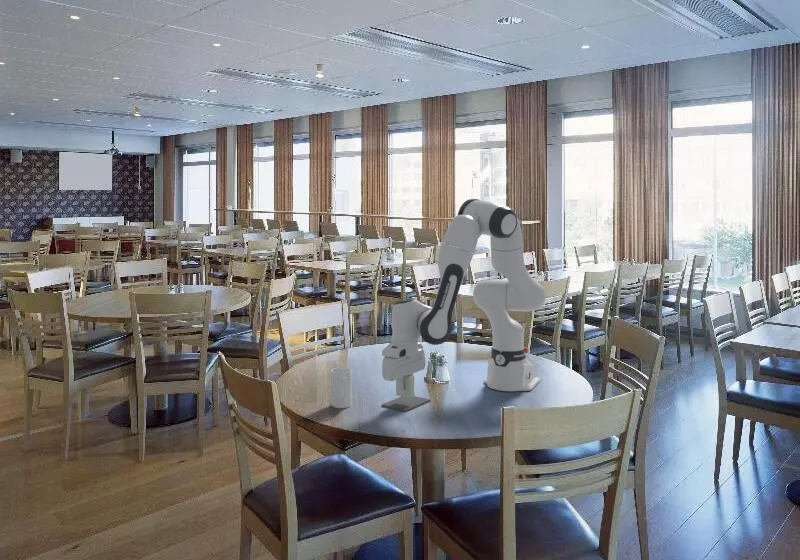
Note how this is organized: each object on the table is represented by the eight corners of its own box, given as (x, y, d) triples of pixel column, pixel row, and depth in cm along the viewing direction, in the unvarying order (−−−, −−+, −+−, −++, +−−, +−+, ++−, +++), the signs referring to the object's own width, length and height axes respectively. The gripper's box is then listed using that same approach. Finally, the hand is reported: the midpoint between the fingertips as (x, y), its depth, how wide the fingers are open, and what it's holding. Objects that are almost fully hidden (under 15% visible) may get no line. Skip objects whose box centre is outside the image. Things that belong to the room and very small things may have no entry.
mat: (406, 396, 240) (406, 394, 239) (430, 401, 234) (430, 399, 234) (381, 406, 228) (381, 404, 228) (406, 411, 222) (406, 410, 222)
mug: (329, 403, 232) (329, 368, 230) (349, 401, 233) (349, 367, 232) (335, 412, 222) (335, 376, 220) (356, 410, 224) (355, 374, 222)
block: (399, 393, 232) (399, 373, 231) (414, 396, 228) (414, 376, 228) (396, 395, 230) (395, 374, 229) (410, 398, 227) (410, 377, 226)
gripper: (414, 340, 238) (414, 379, 239) (378, 351, 221) (378, 393, 223) (430, 343, 234) (429, 382, 236) (394, 354, 217) (394, 397, 219)
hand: (404, 388), depth 229 cm, fingers closed on block, 2 cm apart
